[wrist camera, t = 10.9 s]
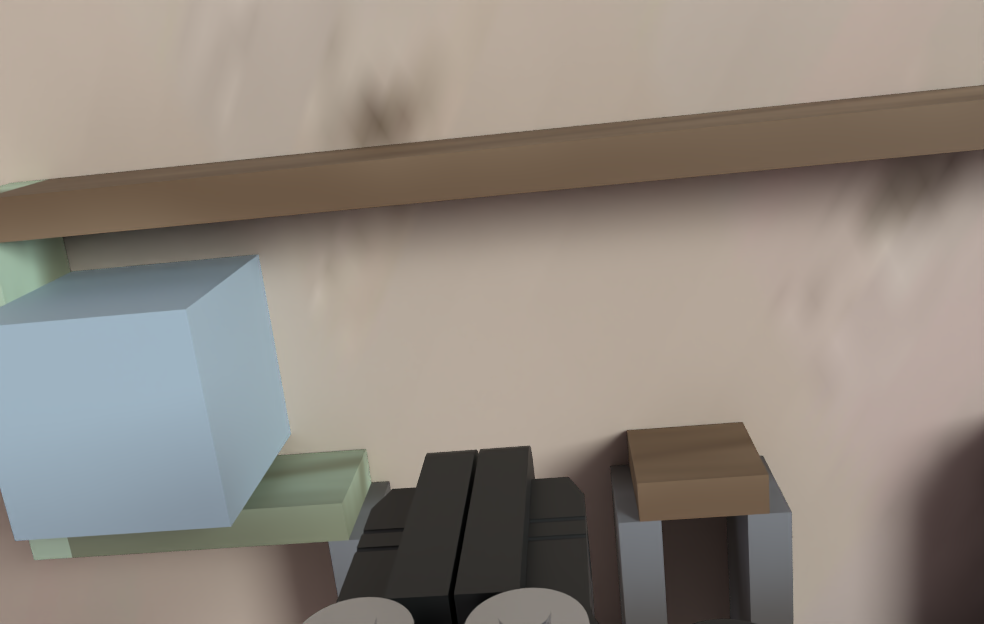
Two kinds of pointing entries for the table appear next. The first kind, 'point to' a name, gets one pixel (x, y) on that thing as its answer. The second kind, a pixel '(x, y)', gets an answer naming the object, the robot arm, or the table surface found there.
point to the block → (138, 399)
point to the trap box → (480, 173)
